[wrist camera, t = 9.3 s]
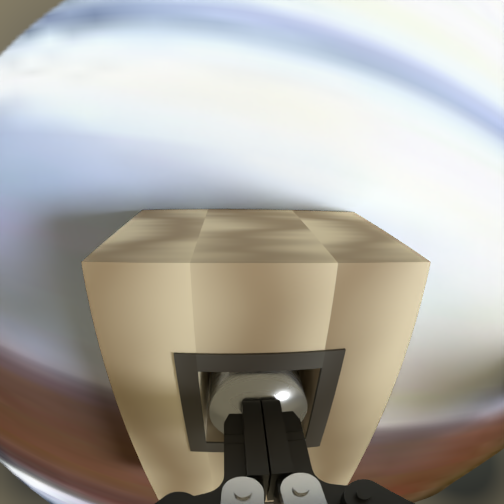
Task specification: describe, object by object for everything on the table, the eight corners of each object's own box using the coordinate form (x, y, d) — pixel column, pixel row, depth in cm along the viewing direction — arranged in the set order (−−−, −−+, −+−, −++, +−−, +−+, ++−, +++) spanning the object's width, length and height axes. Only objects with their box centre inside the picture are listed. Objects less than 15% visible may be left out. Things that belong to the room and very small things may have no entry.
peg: (283, 287, 18) (313, 376, 11) (278, 343, 20) (300, 437, 12) (214, 287, 18) (206, 379, 11) (216, 343, 19) (212, 441, 12)
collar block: (354, 212, 18) (431, 262, 10) (303, 469, 26) (317, 533, 19) (142, 209, 17) (80, 263, 9) (185, 472, 25) (180, 538, 18)
